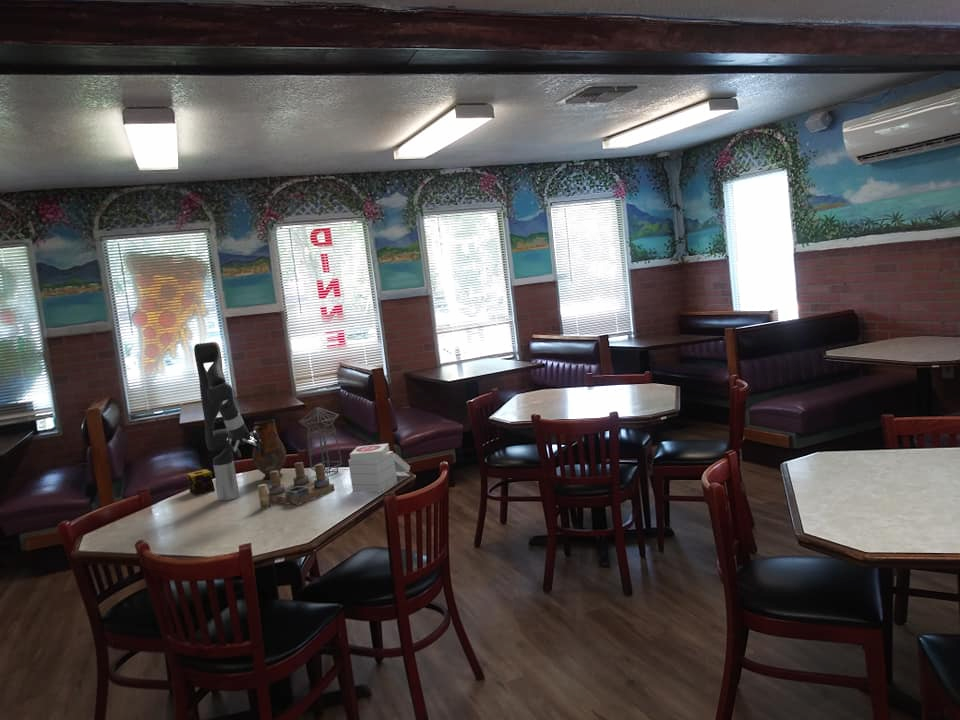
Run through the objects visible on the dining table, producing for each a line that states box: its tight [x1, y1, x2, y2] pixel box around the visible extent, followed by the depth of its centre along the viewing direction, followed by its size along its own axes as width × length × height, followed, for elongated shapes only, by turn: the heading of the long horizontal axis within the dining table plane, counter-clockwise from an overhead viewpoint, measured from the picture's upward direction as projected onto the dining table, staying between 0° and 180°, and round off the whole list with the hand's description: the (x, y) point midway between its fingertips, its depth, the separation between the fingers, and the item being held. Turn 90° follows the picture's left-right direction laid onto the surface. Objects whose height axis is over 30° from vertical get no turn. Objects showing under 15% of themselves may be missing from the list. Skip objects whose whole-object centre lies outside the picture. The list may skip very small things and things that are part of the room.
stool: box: [268, 461, 335, 506], centre depth 337 cm, size 22×22×13 cm
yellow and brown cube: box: [186, 468, 216, 497], centre depth 367 cm, size 10×10×10 cm
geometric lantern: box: [298, 406, 343, 477], centre depth 370 cm, size 16×16×35 cm
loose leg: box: [257, 483, 271, 509], centre depth 325 cm, size 4×4×10 cm
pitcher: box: [251, 418, 287, 481], centre depth 375 cm, size 17×21×30 cm
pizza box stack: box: [347, 443, 411, 493], centre depth 342 cm, size 19×30×18 cm, turn 155°
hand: (249, 453), depth 329 cm, fingers open, 8 cm apart
